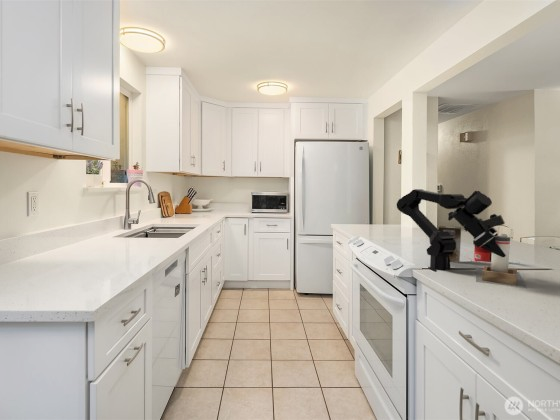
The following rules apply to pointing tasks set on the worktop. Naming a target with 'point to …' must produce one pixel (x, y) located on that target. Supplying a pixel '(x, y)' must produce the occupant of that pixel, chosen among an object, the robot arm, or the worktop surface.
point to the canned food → (482, 254)
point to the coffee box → (456, 234)
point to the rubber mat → (519, 283)
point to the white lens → (497, 261)
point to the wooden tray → (499, 276)
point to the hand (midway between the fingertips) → (505, 255)
